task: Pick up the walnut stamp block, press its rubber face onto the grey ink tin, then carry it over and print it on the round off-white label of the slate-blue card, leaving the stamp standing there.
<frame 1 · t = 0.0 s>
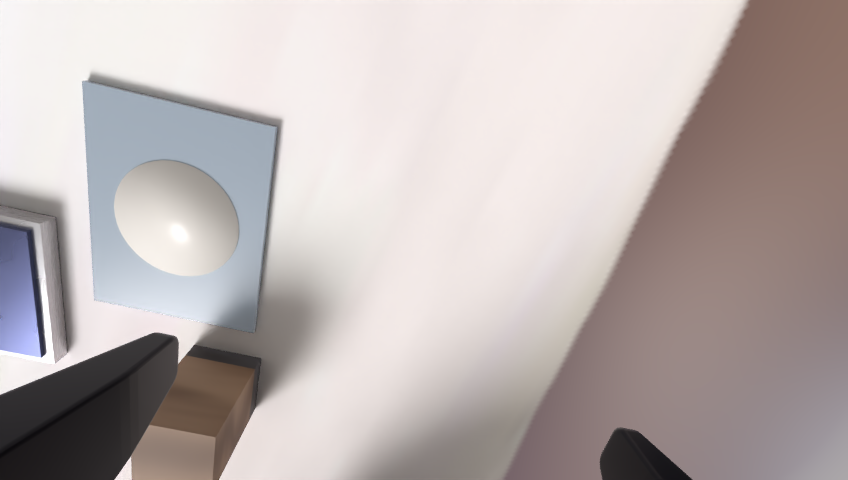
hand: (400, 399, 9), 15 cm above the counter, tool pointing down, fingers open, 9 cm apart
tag: (180, 219, 23), on the counter
stamp: (225, 377, 27), on the counter
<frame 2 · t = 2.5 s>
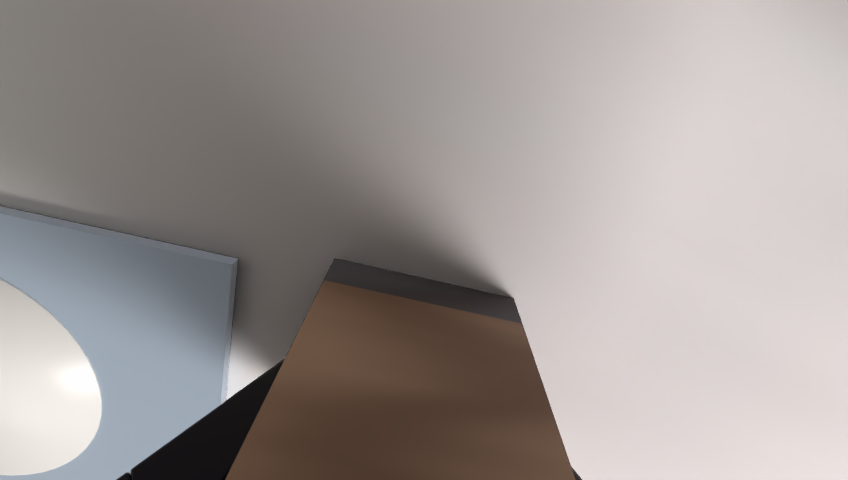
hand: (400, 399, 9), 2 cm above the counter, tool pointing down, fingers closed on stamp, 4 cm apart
stamp: (405, 352, 10), on the counter, touching gripper
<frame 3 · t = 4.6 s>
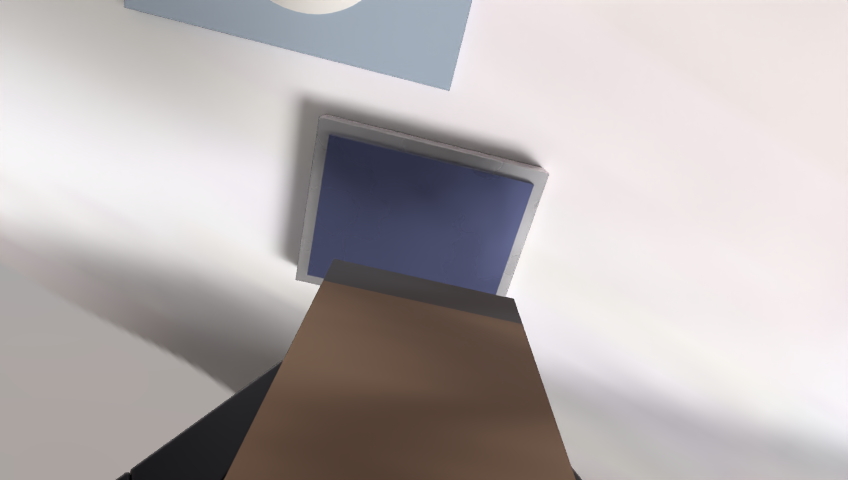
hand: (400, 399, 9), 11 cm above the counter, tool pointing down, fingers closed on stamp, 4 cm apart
ink tin: (416, 221, 19), on the counter
stamp: (405, 353, 10), point 9 cm above the counter, touching gripper
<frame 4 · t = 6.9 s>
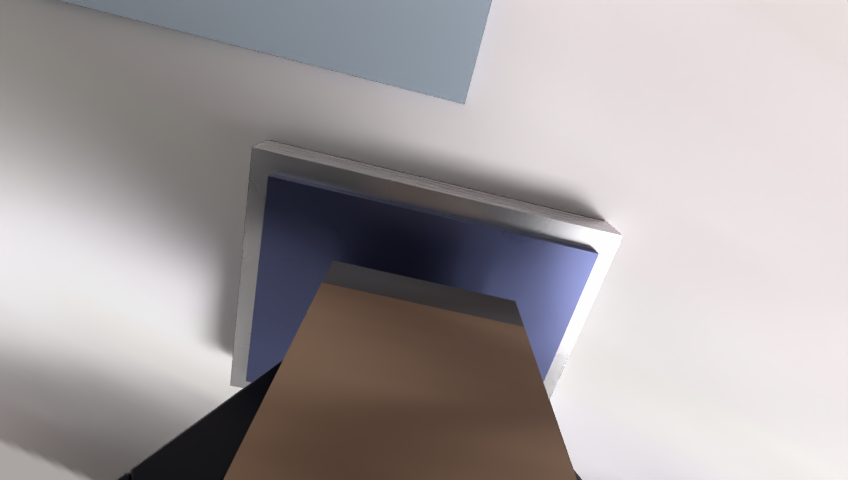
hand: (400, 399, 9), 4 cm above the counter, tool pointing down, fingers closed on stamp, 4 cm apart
ink tin: (411, 298, 13), on the counter
stamp: (404, 355, 10), point 3 cm above the counter, touching gripper
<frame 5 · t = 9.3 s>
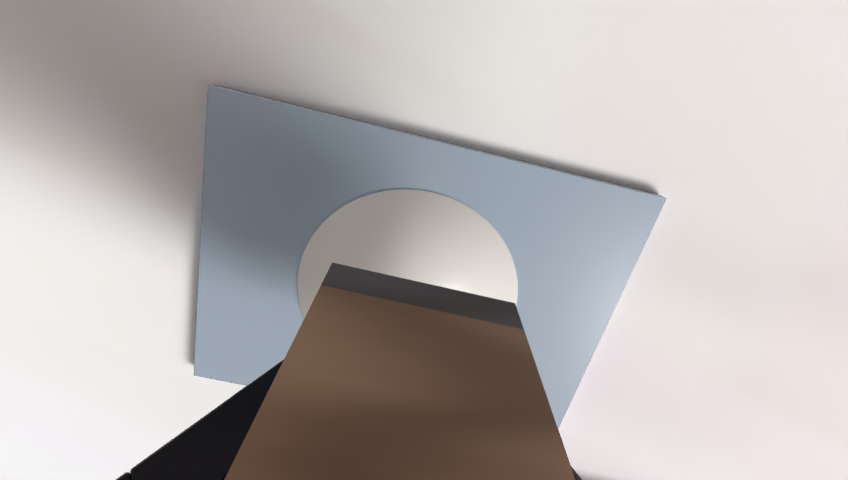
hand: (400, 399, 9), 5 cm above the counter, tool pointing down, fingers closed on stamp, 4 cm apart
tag: (407, 290, 13), on the counter
stamp: (404, 358, 10), point 3 cm above the counter, touching gripper
when the fingers open (2 cm above the counter, at t = 11.1 s): stamp stays where it is, resting on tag.
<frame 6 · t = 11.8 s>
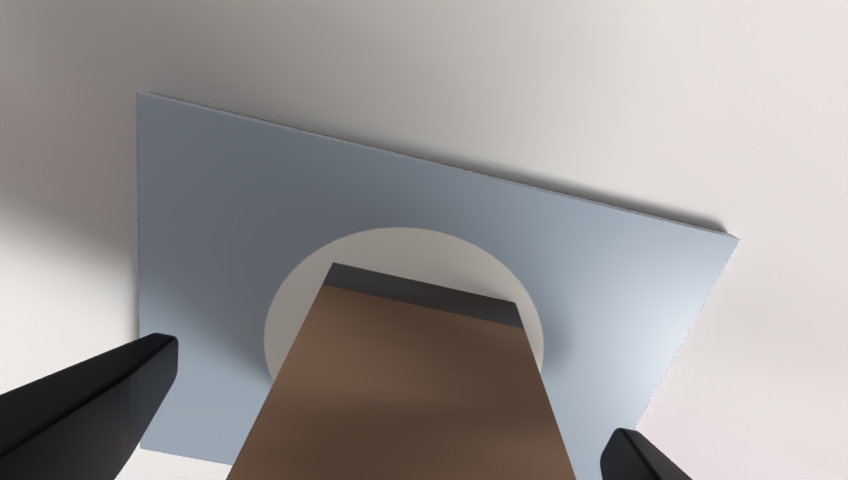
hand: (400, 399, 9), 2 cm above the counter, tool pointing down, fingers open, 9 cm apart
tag: (404, 348, 10), on the counter
stamp: (405, 357, 10), resting on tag
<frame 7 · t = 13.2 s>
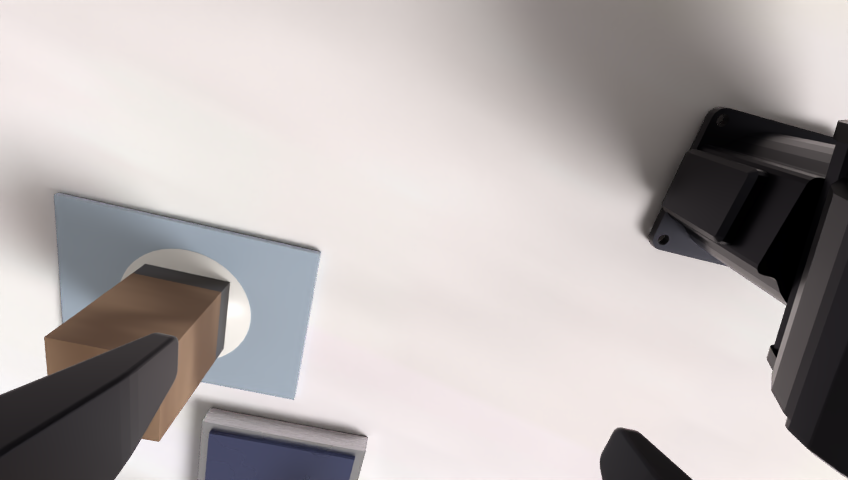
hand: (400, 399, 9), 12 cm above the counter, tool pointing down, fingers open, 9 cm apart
ink tin: (282, 466, 26), on the counter
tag: (188, 304, 22), on the counter
stamp: (186, 307, 22), resting on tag
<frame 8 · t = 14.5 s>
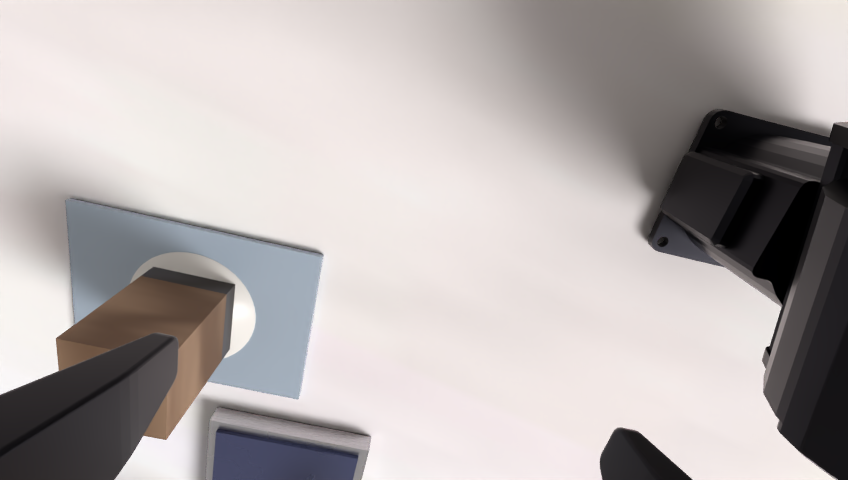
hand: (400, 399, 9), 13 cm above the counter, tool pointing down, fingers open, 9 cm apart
ink tin: (288, 464, 27), on the counter
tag: (195, 306, 23), on the counter
stamp: (193, 309, 22), resting on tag
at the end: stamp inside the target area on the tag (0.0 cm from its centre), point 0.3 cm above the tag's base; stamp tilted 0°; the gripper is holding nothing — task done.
